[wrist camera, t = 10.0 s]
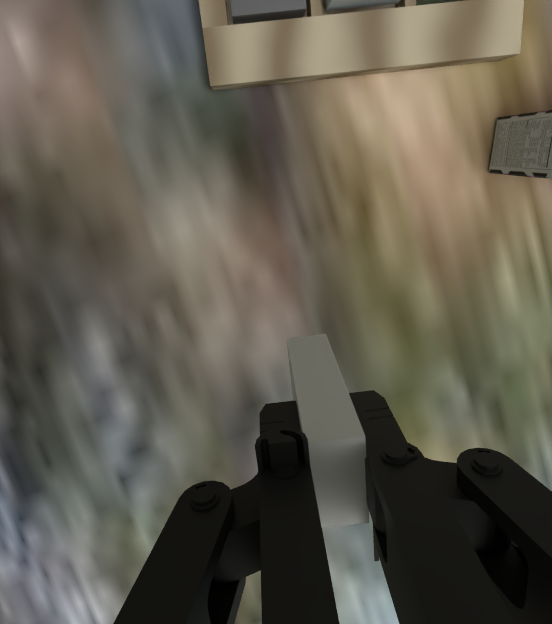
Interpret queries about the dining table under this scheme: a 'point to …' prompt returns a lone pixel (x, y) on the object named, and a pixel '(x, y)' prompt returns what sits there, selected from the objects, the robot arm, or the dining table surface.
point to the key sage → (434, 1)
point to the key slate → (356, 3)
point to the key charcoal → (266, 10)
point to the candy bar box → (523, 145)
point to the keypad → (356, 40)
